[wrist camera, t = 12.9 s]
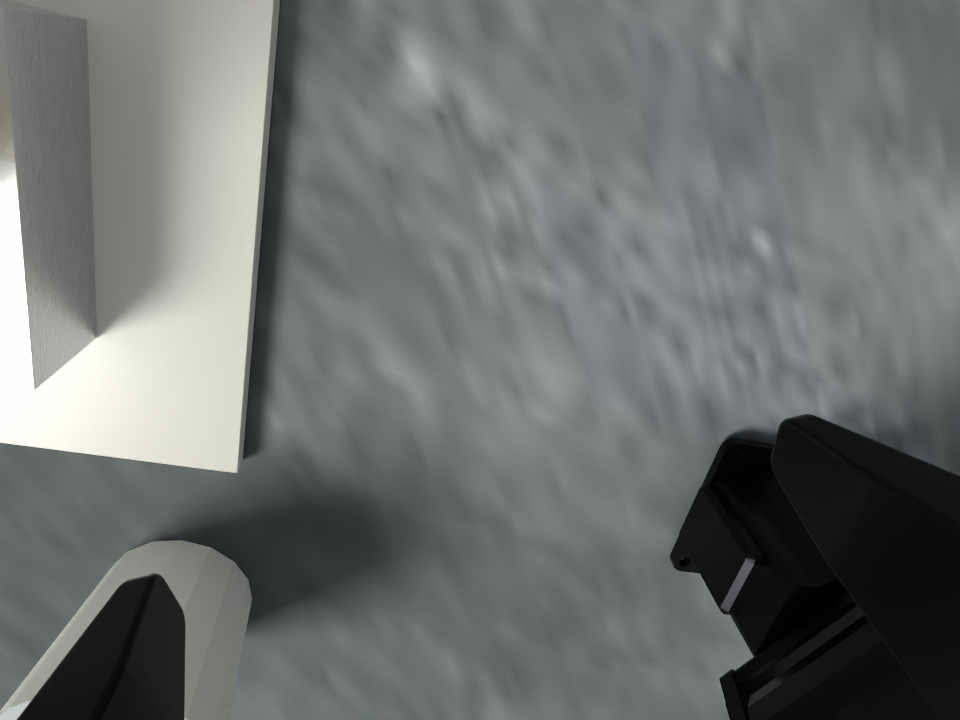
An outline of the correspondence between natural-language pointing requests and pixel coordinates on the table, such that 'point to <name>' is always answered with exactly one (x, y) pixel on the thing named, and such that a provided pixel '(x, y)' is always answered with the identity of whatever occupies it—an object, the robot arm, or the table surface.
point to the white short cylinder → (208, 623)
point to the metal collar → (44, 194)
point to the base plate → (166, 234)
